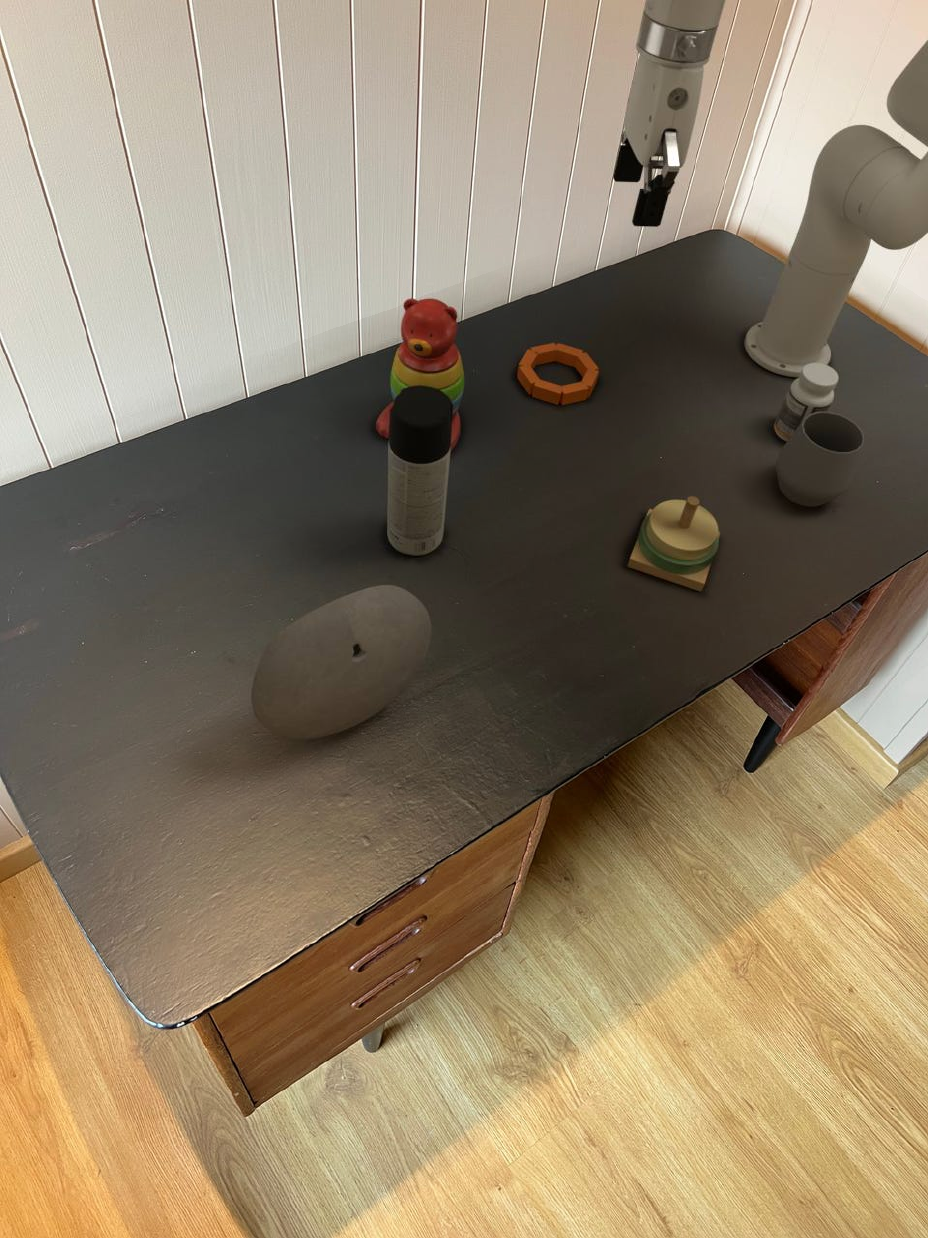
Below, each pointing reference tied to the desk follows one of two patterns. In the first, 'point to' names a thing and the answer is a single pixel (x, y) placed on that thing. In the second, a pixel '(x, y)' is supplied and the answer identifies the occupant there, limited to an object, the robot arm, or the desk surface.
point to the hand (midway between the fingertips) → (635, 202)
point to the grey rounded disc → (341, 663)
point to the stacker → (677, 543)
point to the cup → (819, 459)
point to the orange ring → (554, 391)
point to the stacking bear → (427, 357)
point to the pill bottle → (806, 397)
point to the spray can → (418, 468)
